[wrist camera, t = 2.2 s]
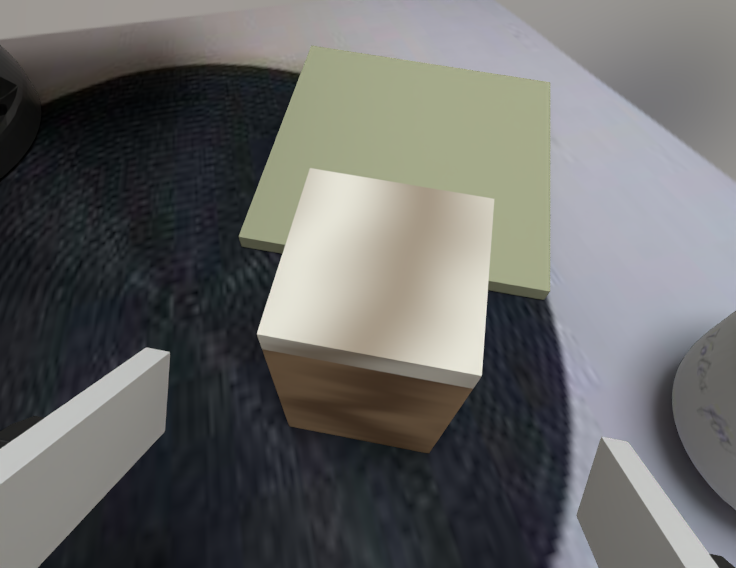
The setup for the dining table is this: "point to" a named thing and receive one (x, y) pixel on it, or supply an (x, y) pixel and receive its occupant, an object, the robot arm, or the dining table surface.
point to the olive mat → (419, 150)
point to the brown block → (379, 309)
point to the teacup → (710, 407)
